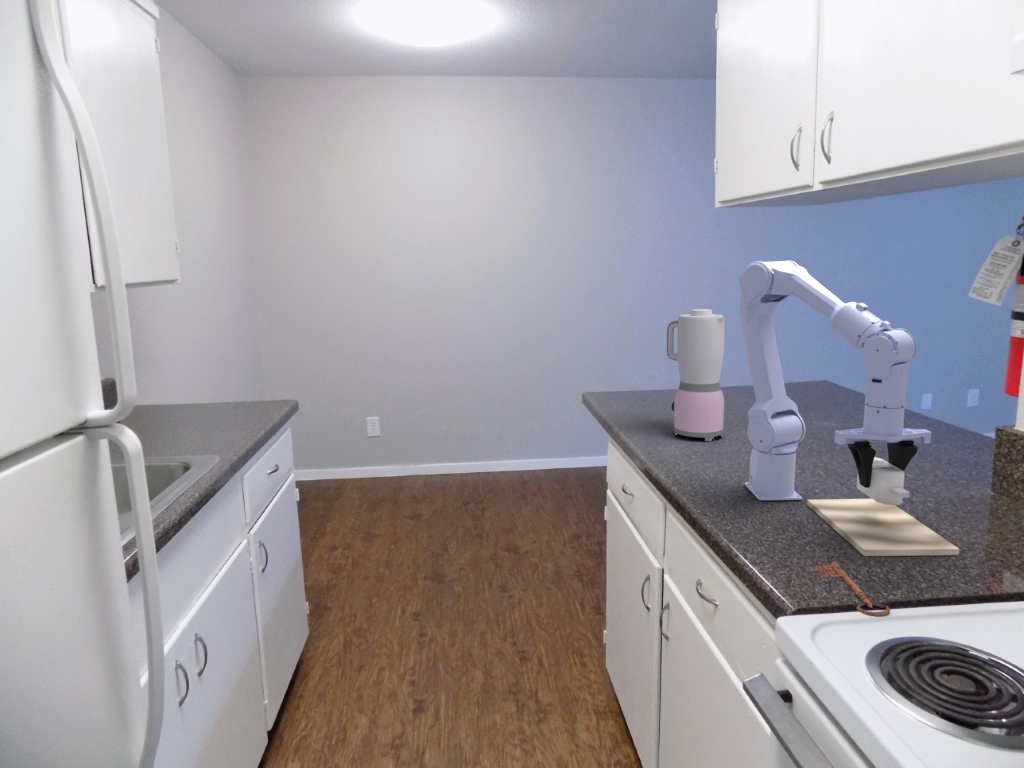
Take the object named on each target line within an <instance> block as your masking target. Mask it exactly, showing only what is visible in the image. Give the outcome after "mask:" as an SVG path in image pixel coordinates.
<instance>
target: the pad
mask: <svg viewBox="0 0 1024 768" xmlns="http://www.w3.org/2000/svg"><path fill="white" fill-rule="evenodd" d="M806 500H807V501H806V506H808V508H810V509H811V510H812V511H813V512H815V514H817V515H818V516H819V517H820V518H821V519H822V520H823V521H824V522H826V524H828V525H829V526H830V527H831V528H832V529H833V530H835V531H836V533H838V534H839V535H840V536H841V537H842V538H844V540H846V542H848V543H849V544H850V545H851V546H852V547H854V548H855V549H856V550H857V551H858V552H859V553H860V554H861V555H862V556H863V557H902V556H903V557H907V556H908V557H909V556H911V557H912V556H913V557H917V556H920V557H921V556H959V553H960V548H959V547H957V546H956V545H954V544H953V543H951V542H950V541H948V540H947V539H945V538H944V537H943V536H941V535H939V534H938V533H936V532H935V531H934V530H932V529H931V528H929V527H928V526H927V525H925V524H924V523H921V522H920V521H919V520H917V519H916V518H915V517H913V516H912V515H911V514H909V513H907V512H906V511H904V510H903V509H901V508H900V507H898V505H886V504H881V503H878V502H876V501H875V500H873V499H872V498H833V499H832V498H829V499H826V498H823V499H822V498H821V499H820V498H819V499H806Z"/></svg>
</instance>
